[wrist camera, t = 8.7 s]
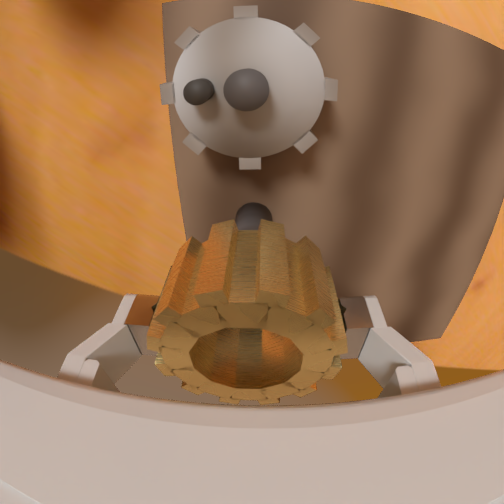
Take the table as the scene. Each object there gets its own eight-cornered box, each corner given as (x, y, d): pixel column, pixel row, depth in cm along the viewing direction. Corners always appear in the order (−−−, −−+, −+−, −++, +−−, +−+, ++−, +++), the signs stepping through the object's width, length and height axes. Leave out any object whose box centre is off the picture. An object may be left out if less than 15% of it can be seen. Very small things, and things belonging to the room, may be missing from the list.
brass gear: (341, 219, 10) (369, 288, 7) (319, 338, 14) (328, 402, 11) (156, 220, 10) (120, 286, 8) (185, 337, 14) (172, 399, 11)
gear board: (507, 59, 11) (582, 80, 5) (433, 322, 25) (457, 381, 19) (173, 9, 11) (116, -18, 6) (210, 329, 25) (199, 401, 20)
